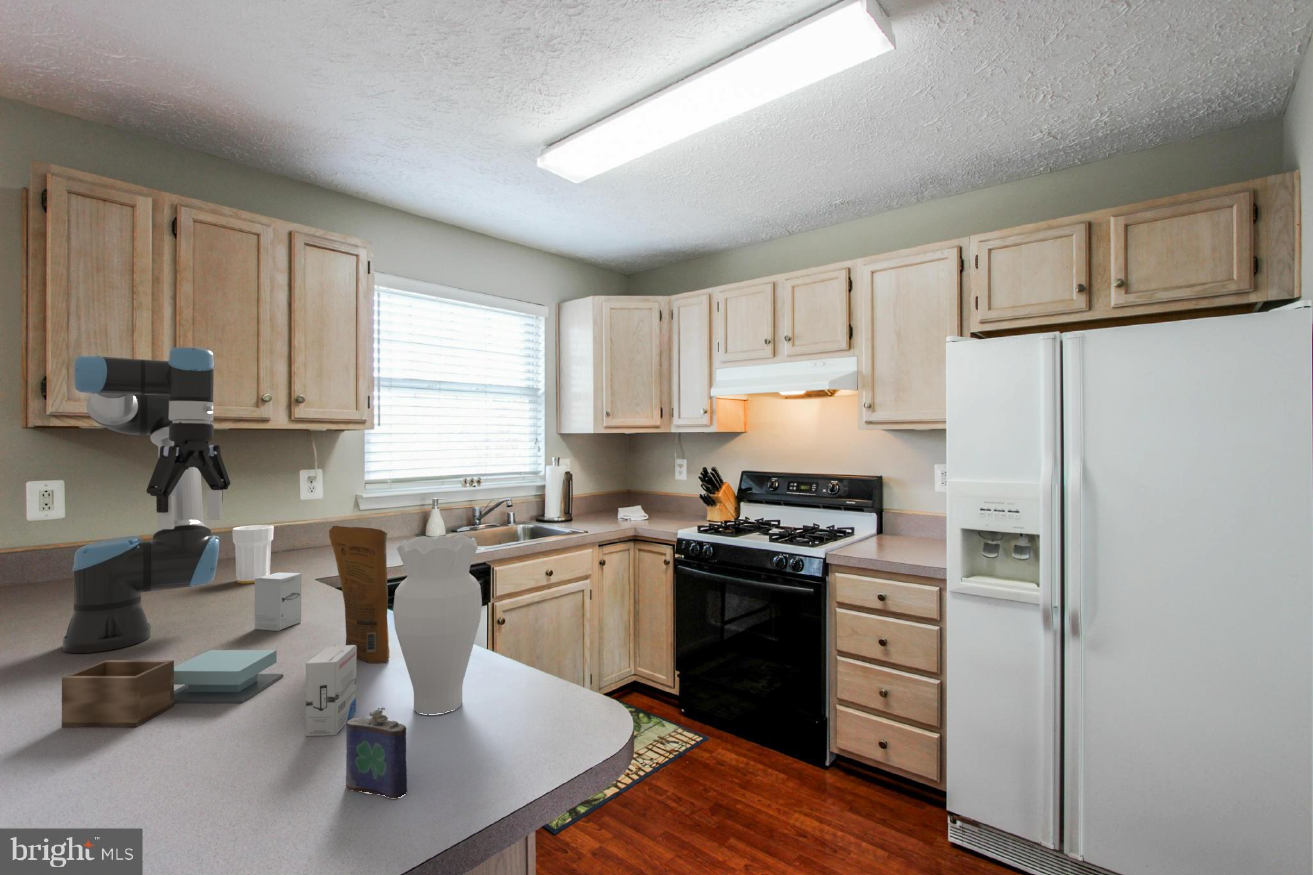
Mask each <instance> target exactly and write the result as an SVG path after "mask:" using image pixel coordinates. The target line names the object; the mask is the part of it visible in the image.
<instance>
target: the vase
mask: <svg viewBox="0 0 1313 875" xmlns="http://www.w3.org/2000/svg"><path fill="white" fill-rule="evenodd" d="M478 548H479V547H478V543H477V539H475V538H474V537H472V538H470V537H468V536H467V535H463V534H458V535H456V536H454V537H453V538H450V537H448V536H445V535H444V534H442V535H439V536H438V537H436V538H433V539H432V538H429V537H428V536H425V535H423V536H416V537H414V538H413V539H411V540H410V541H407V540H406V539H404V540H403V541H402V542H401V543H400V544H399V546H398V547H397V548H396V551H397V553H398V555H399V557H400V559H401V560H400V561H401V562H402V565H403V566H404V570H405V571H406V575H407V576H406V578H405V579H403V580H402V581H401V582H400V583H399V585H398V586H397V587H396V589H395V592H394V599H393V610H392V611H393V612H392V613H393V621H394V622H393V623H394V629H395V630H394V631H395V634H396V636H397V640H398V643H399V646H400V650H401V653H402V656H403V659H404V660H403V661H404V662H405V663H404V664H405V666H406V670H407V671H408V672H407V673H408V675H409V679H410V682H411V685H412V690H413V710H415V711H416V712H418V713H423V714H427V715H429V714H437V713H445V712H447V711H451V710H454V709H456V708H458V707H459V706H460V705H461V703H462V704H463V684H464V679H465V676H466V673H467V668H468V666H469V662H470V658H471V655H472V651H473V647H474V644H475V640H476V637H477V633H478V631H479V626H480V623H481V618H482V607H483V600H482V589H481V584H480V582H479V581H478V580H477V578H476V577H475V576H473V575H472V574H471V573H470V568H471V565H472V562H473V560H474V559H475V558H474V557H475V555H476V552H477V550H478ZM461 706H462V705H461ZM461 706H460V707H461ZM460 707H459V708H460ZM459 708H458V709H459ZM456 710H457V709H456ZM415 711H414V712H415ZM454 711H455V710H454ZM416 712H415V713H416ZM418 713H417V714H418Z"/></svg>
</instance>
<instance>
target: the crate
mask: <svg viewBox="0 0 1313 875" xmlns="http://www.w3.org/2000/svg"><path fill="white" fill-rule="evenodd" d="M174 667H175V660H172V659H171V660H170V659H169V660H156V659H155V660H154V659H153V660H151V659H150V660H145V659H144V660H140V659H139V660H137V659H134V660H133V659H131V660H129V659H128V660H127V659H123V660H119V659H118V660H117V659H116V660H115V659H113V660H108V659H107V660H105V659H104V660H103V661H100V662H98V663H95V664H93V665H89V666H88V667H85V668H82V669H81V670H78V671H76V672H73V673H70V674H68V675H66V676H63V677H61V728H127V729H128V728H130V729H131V728H135V729H136V728H138V727H139V726H141V725H142V724H145V723H147V722H148V721H150V720H152V719H154V718H155V717H158V716H159V715H161V714H163V713H164V712H167V711H168V710H171V709H172V708H174V707H175V703H174V691H175V685H174Z"/></svg>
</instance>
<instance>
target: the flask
mask: <svg viewBox="0 0 1313 875" xmlns="http://www.w3.org/2000/svg"><path fill="white" fill-rule="evenodd" d="M385 710H386V708H385V707H383V706H382V707H381V708H379V707H378V708H377V709H376V710H374V711H372V712H371V711H370V712H369V714H368V715H369V716H370V717H371V718H370V717H354V718H350V719H349V720H348V721H347V723H346V724H345V733H346V734H345V737H346V738H345V739H346V742H345V743H346V745H345V746H346V748H345V750H346V752H345V753H346V754H345V756H346V759H345V760H346V762H345V763H346V766H345V767H346V768H345V788H346V789H347V790H348V791H350V790H353V791H355V792H358V791H362V792H369V793H372V794H373V795H376V794H380V795H385V796H386V797H389V798H398V797H401V796H402V795H404V794H406V792H407V793H408V788H407V787H408V783H407V782H408V774H407V772H408V767H407V727H406V725H405V724H403V723H399V722H398V721H396V720H389V717H388V716H387V715H384V714H383V711H385ZM353 791H352V792H353ZM362 792H361V793H362ZM406 795H407V794H406ZM389 798H388V799H389Z"/></svg>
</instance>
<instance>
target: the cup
mask: <svg viewBox="0 0 1313 875" xmlns="http://www.w3.org/2000/svg"><path fill="white" fill-rule="evenodd" d="M231 530H232V543H233V544H234V547H235V548H234V551H235V576H236V578H235V579H236V580H235V581H236V583H238V584H247V585H248V584H255V578H258V577H262V576H266V575H270V574H271V559H272V558H271V555H272V554H271V552H272V551H271V550H272V541H273V540H274V530H275V527H274V525H271V524H252V525H243V526H238V527H233V528H232V529H231Z"/></svg>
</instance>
